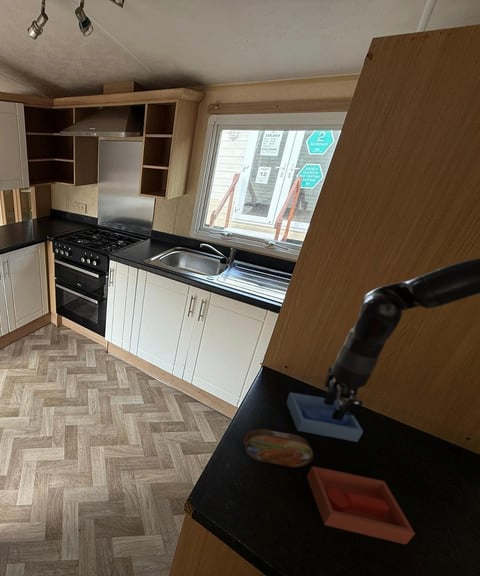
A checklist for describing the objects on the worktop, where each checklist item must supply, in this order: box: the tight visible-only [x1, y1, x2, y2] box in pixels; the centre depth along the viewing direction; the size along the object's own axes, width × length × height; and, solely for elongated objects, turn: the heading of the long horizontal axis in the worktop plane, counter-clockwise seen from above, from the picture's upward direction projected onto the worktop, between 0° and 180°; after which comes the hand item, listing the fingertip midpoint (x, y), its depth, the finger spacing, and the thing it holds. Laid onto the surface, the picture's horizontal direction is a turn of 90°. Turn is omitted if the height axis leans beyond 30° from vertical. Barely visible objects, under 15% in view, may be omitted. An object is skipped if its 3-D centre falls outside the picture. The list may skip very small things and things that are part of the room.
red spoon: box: [326, 488, 389, 517], centre depth 68 cm, size 11×4×3 cm, turn 76°
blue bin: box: [286, 392, 364, 443], centre depth 89 cm, size 15×11×4 cm
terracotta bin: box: [306, 465, 416, 545], centre depth 68 cm, size 15×11×4 cm
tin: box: [243, 428, 314, 468], centre depth 77 cm, size 15×3×8 cm, turn 76°
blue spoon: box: [302, 407, 350, 426], centre depth 88 cm, size 11×4×3 cm, turn 76°
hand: (332, 411), depth 87 cm, fingers open, 5 cm apart
